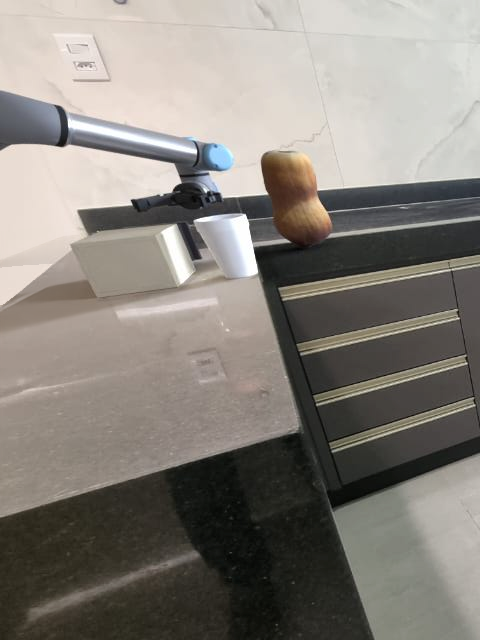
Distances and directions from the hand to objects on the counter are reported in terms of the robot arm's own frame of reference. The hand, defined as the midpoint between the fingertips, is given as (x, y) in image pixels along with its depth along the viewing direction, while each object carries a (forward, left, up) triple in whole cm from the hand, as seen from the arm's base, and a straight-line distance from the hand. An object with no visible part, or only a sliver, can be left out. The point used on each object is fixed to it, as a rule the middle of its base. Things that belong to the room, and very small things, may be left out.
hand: (169, 204), depth 139 cm
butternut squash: (+30, -12, -13) cm, 35 cm away
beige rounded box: (0, -32, -13) cm, 35 cm away
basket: (0, -18, -12) cm, 22 cm away
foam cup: (+18, -36, -13) cm, 42 cm away
